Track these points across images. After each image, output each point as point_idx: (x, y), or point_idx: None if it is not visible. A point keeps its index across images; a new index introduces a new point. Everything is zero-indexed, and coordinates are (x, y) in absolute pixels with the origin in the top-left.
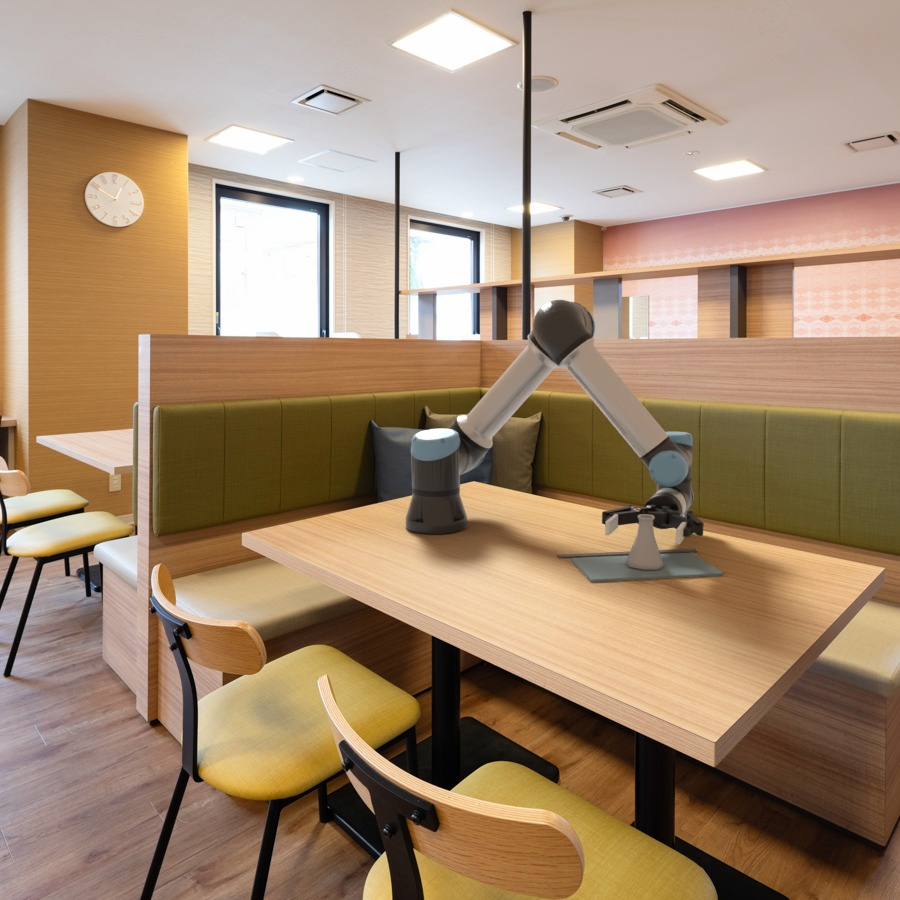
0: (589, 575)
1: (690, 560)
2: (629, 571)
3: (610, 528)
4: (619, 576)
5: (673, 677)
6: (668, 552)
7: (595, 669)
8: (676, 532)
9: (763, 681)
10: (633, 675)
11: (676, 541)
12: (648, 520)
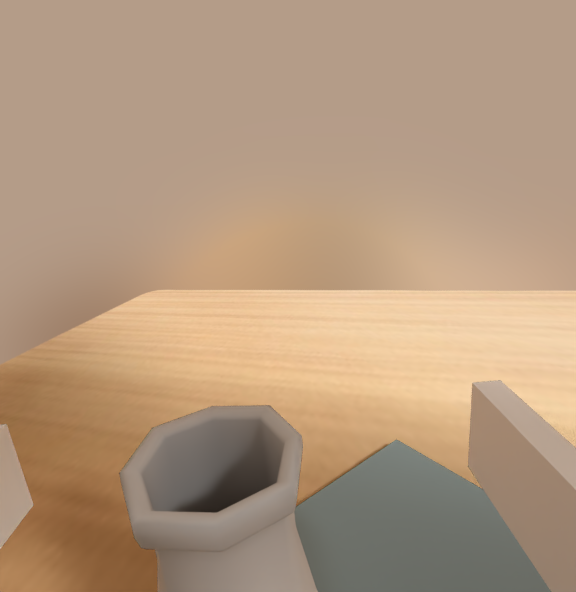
0: (426, 464)
1: None
2: (317, 585)
3: (485, 451)
4: (330, 505)
5: (172, 310)
6: None
7: (248, 298)
8: (8, 439)
9: (75, 329)
10: (211, 303)
11: (22, 493)
12: (191, 434)
